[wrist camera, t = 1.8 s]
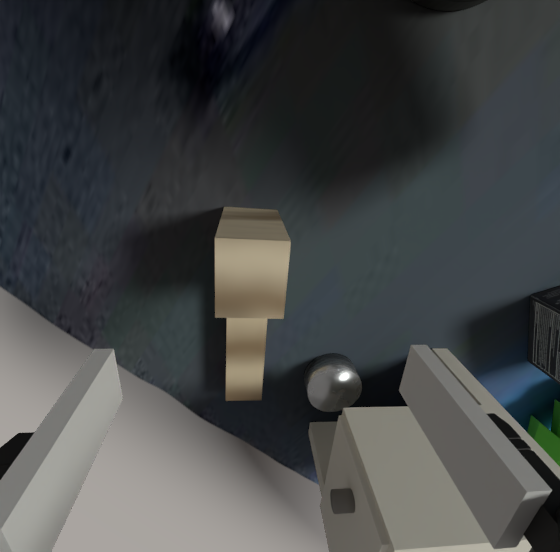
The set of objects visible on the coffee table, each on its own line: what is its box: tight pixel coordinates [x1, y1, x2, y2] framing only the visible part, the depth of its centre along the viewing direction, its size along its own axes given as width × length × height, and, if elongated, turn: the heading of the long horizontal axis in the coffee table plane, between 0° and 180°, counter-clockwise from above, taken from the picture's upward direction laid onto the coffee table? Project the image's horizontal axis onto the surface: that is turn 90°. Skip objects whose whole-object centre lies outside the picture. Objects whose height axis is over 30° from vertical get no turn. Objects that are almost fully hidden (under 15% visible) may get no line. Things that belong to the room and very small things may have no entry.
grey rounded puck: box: [304, 353, 362, 412], centre depth 38 cm, size 6×6×3 cm
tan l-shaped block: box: [215, 207, 291, 401], centre depth 29 cm, size 21×5×10 cm, turn 175°
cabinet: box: [308, 348, 560, 552], centre depth 32 cm, size 14×18×20 cm
